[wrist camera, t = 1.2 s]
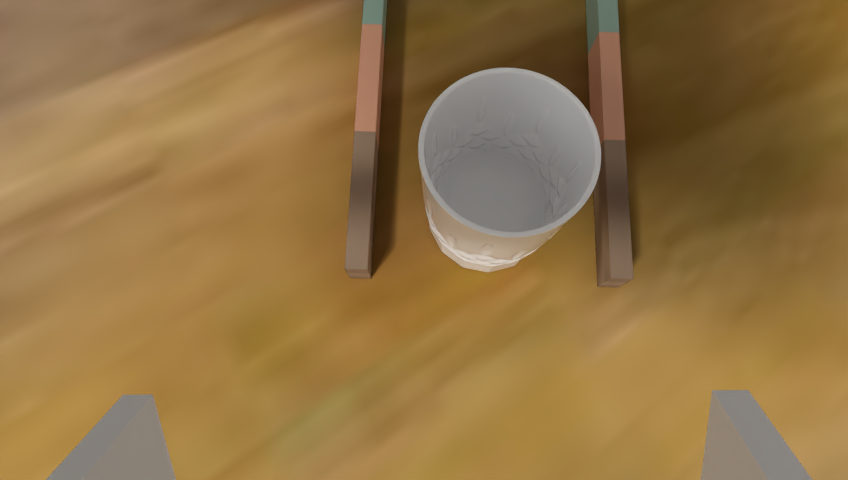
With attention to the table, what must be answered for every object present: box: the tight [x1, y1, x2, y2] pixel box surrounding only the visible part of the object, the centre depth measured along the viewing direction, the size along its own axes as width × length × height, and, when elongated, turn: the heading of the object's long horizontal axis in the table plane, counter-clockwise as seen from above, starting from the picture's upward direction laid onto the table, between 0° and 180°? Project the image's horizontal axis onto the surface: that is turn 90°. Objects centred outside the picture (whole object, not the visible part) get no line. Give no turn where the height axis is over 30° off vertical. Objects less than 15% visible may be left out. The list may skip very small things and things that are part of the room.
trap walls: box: [355, 24, 625, 149], centre depth 36 cm, size 7×15×2 cm, turn 88°
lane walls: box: [345, 131, 633, 287], centre depth 34 cm, size 8×15×2 cm, turn 88°
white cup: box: [418, 68, 601, 273], centre depth 30 cm, size 8×8×10 cm
